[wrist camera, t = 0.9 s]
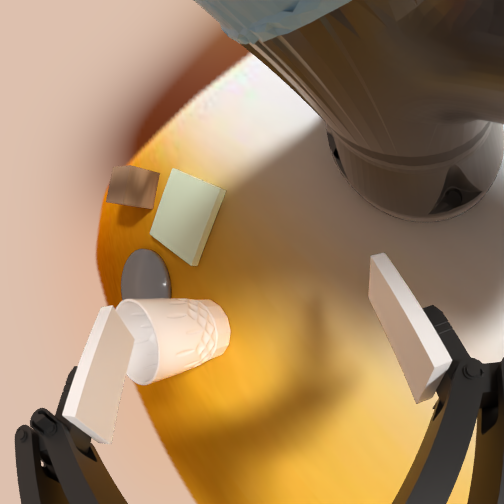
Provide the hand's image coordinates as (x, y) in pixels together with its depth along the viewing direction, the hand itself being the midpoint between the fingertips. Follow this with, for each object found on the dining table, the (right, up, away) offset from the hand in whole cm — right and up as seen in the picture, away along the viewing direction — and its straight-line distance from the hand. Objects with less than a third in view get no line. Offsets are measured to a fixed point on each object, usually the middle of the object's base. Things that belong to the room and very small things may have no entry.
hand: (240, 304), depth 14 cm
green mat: (-7, +7, +21) cm, 23 cm away
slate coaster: (-14, -3, +25) cm, 28 cm away
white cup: (-4, -6, +18) cm, 20 cm away
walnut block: (-14, +11, +26) cm, 32 cm away
